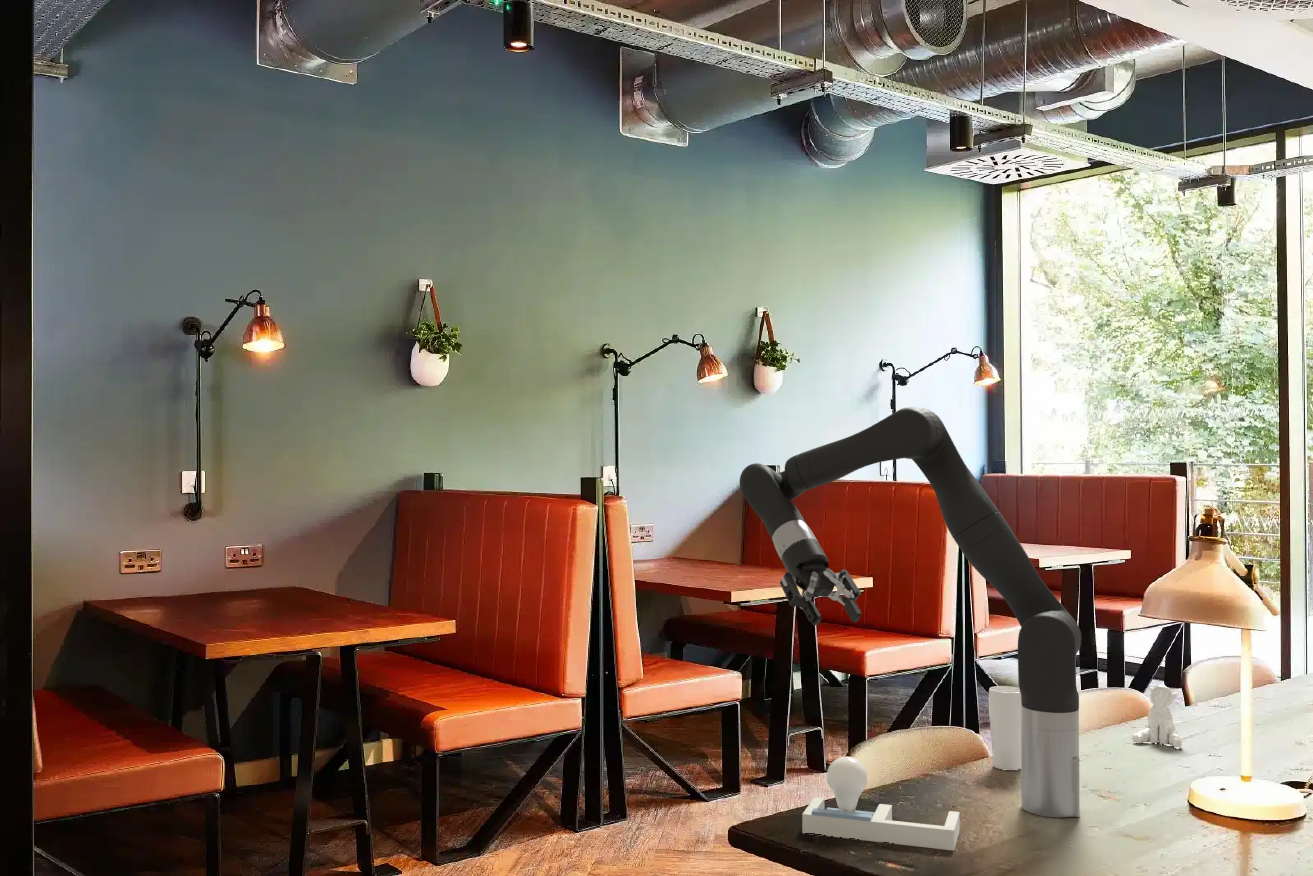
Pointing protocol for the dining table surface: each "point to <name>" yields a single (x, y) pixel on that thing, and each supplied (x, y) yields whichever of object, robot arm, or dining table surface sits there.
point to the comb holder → (879, 826)
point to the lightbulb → (847, 782)
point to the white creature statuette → (1160, 719)
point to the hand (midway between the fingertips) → (837, 620)
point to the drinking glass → (1005, 726)
